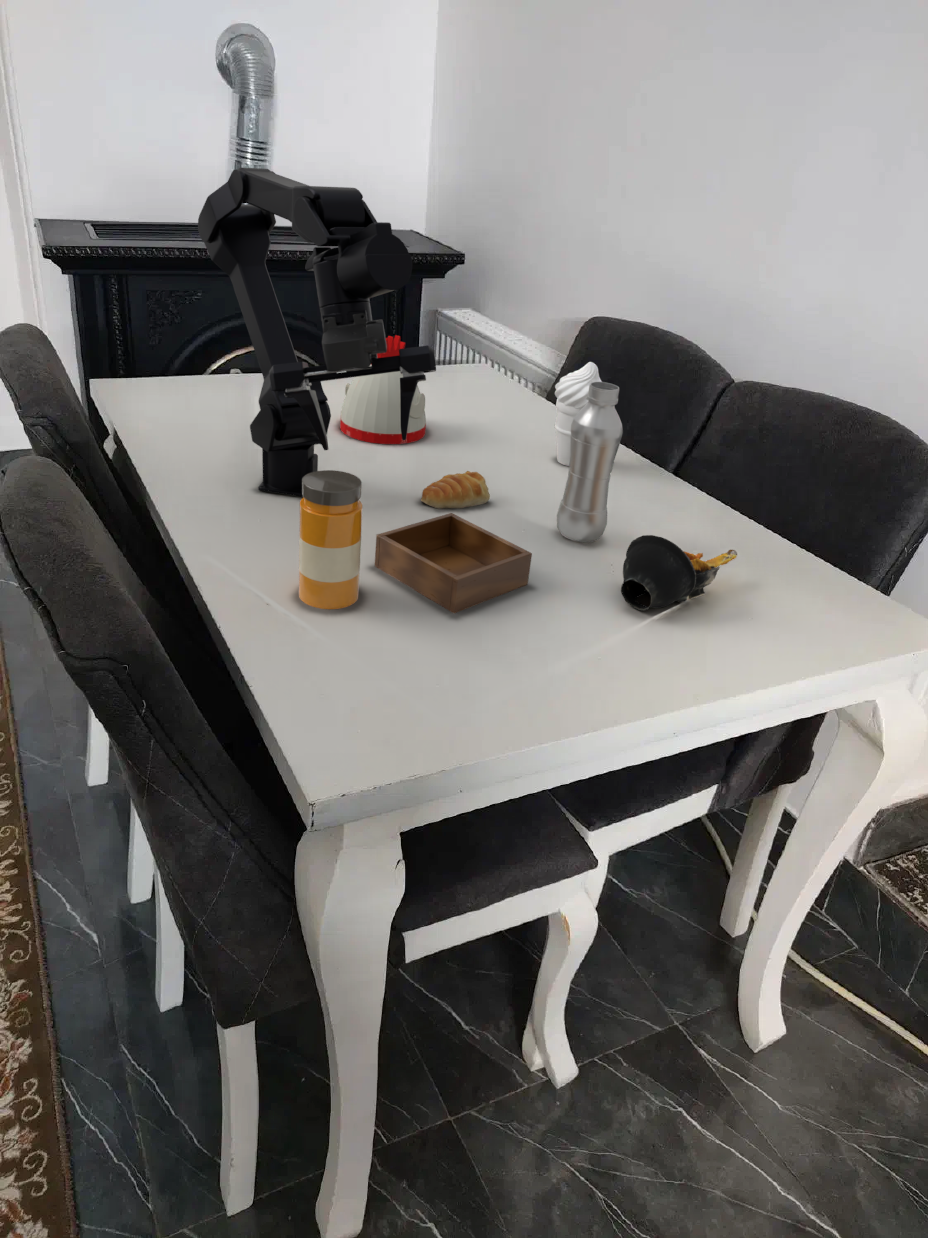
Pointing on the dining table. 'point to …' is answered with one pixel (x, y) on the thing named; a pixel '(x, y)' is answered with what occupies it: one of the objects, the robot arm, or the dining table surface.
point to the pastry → (457, 491)
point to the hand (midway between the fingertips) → (365, 445)
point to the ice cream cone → (571, 405)
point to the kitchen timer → (381, 406)
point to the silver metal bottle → (590, 465)
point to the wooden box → (452, 561)
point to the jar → (330, 539)
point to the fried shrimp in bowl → (666, 572)
